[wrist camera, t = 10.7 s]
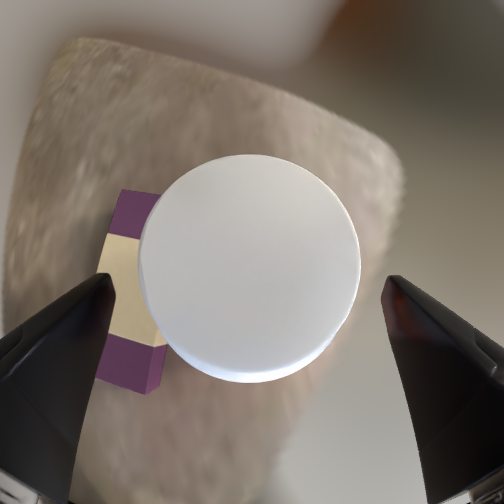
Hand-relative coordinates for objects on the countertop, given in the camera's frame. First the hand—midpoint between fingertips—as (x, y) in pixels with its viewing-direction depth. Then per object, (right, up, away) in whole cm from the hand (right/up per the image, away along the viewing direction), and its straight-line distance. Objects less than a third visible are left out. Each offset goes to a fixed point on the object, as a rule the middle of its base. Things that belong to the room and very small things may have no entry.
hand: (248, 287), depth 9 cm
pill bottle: (0, -2, +8) cm, 8 cm away
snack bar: (-6, -1, +7) cm, 10 cm away
